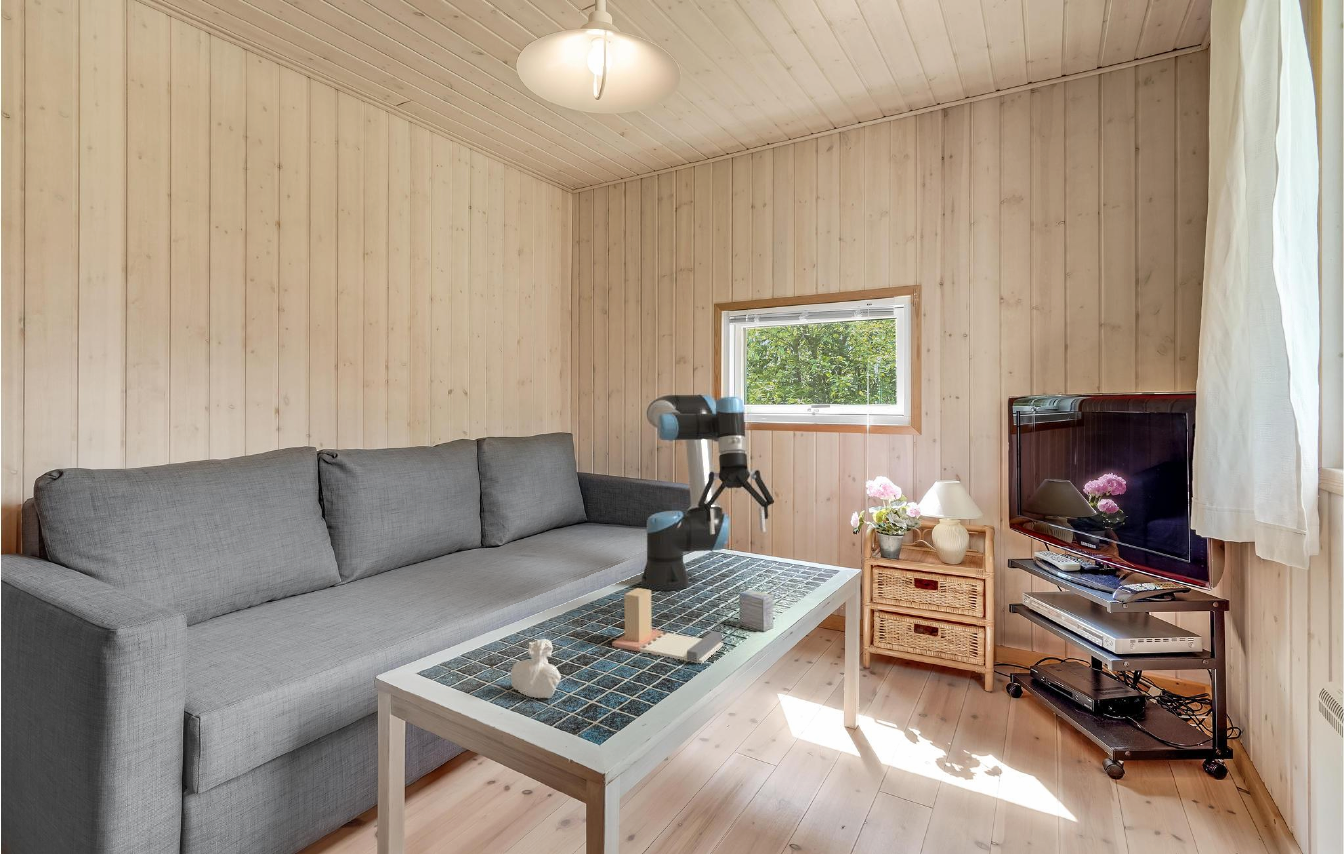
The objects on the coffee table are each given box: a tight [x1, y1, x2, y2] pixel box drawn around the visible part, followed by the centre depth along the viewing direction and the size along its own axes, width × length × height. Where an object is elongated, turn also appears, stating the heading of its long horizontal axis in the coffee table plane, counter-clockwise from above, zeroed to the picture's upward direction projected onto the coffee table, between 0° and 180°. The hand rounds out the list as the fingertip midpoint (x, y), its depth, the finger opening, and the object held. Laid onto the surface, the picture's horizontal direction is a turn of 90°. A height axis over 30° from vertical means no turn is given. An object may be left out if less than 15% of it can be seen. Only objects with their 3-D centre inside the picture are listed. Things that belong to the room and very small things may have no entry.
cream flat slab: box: [639, 630, 724, 665], centre depth 152 cm, size 16×14×3 cm
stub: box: [611, 587, 664, 652], centre depth 157 cm, size 7×12×12 cm, turn 152°
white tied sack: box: [509, 638, 562, 699], centre depth 130 cm, size 12×8×11 cm
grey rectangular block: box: [738, 589, 774, 632], centre depth 167 cm, size 8×4×9 cm, turn 47°
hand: (737, 533), depth 170 cm, fingers open, 13 cm apart
